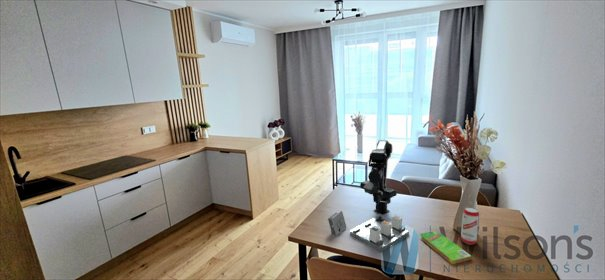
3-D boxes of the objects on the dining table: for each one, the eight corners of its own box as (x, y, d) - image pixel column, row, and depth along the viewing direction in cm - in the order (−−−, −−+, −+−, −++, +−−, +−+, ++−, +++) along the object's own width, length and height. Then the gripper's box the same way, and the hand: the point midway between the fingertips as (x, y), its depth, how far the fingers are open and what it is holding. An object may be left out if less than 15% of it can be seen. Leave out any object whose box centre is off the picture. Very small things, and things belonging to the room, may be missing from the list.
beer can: (476, 247, 120) (480, 214, 117) (460, 243, 124) (463, 211, 120) (476, 239, 126) (479, 208, 122) (460, 236, 129) (463, 205, 125)
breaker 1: (372, 237, 127) (372, 226, 126) (379, 241, 124) (380, 229, 123) (369, 239, 126) (369, 228, 125) (376, 243, 123) (376, 231, 121)
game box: (451, 266, 111) (418, 237, 130) (470, 262, 113) (435, 233, 132) (452, 260, 110) (419, 232, 129) (472, 255, 112) (436, 228, 131)
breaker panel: (377, 219, 147) (377, 214, 146) (408, 234, 132) (409, 229, 131) (350, 234, 135) (350, 228, 134) (381, 252, 120) (381, 246, 119)
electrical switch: (337, 236, 134) (335, 219, 132) (328, 234, 137) (326, 217, 136) (346, 228, 141) (345, 211, 139) (338, 226, 144) (336, 209, 143)
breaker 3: (394, 224, 137) (395, 214, 136) (401, 227, 134) (402, 217, 133) (391, 226, 135) (391, 216, 134) (398, 229, 132) (399, 219, 131)
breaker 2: (384, 230, 132) (384, 220, 131) (391, 234, 129) (391, 223, 128) (380, 232, 131) (381, 221, 129) (387, 236, 127) (388, 225, 126)
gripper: (352, 174, 138) (352, 203, 142) (383, 185, 124) (382, 216, 127) (367, 169, 145) (367, 196, 148) (397, 179, 130) (396, 208, 133)
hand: (377, 204), depth 139 cm, fingers closed
